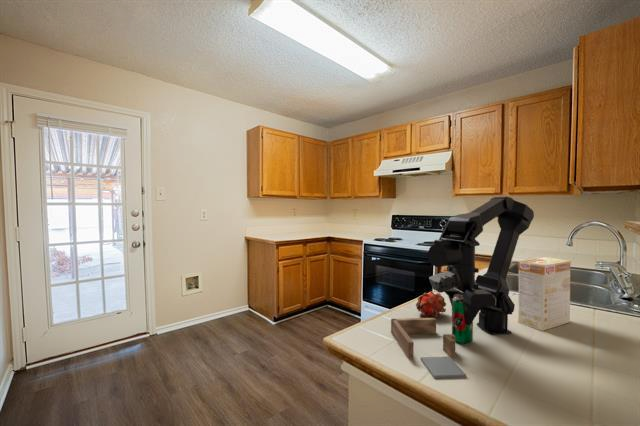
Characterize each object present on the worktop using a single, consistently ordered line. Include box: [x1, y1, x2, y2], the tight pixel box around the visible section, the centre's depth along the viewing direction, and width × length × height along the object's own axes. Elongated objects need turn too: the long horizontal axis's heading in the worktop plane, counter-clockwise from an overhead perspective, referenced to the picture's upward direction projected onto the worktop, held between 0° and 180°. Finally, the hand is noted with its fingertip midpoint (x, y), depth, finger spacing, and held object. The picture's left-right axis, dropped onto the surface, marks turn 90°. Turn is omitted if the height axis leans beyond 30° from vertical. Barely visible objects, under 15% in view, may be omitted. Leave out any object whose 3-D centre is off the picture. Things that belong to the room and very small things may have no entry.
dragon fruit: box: [415, 290, 447, 319], centre depth 91 cm, size 8×8×12 cm
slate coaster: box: [420, 356, 467, 379], centre depth 61 cm, size 7×7×1 cm
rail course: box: [390, 317, 456, 360], centre depth 72 cm, size 13×14×4 cm
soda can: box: [451, 294, 474, 345], centre depth 74 cm, size 5×5×12 cm
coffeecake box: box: [517, 256, 571, 332], centre depth 85 cm, size 15×7×20 cm, turn 113°
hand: (462, 320), depth 74 cm, fingers closed on soda can, 5 cm apart
